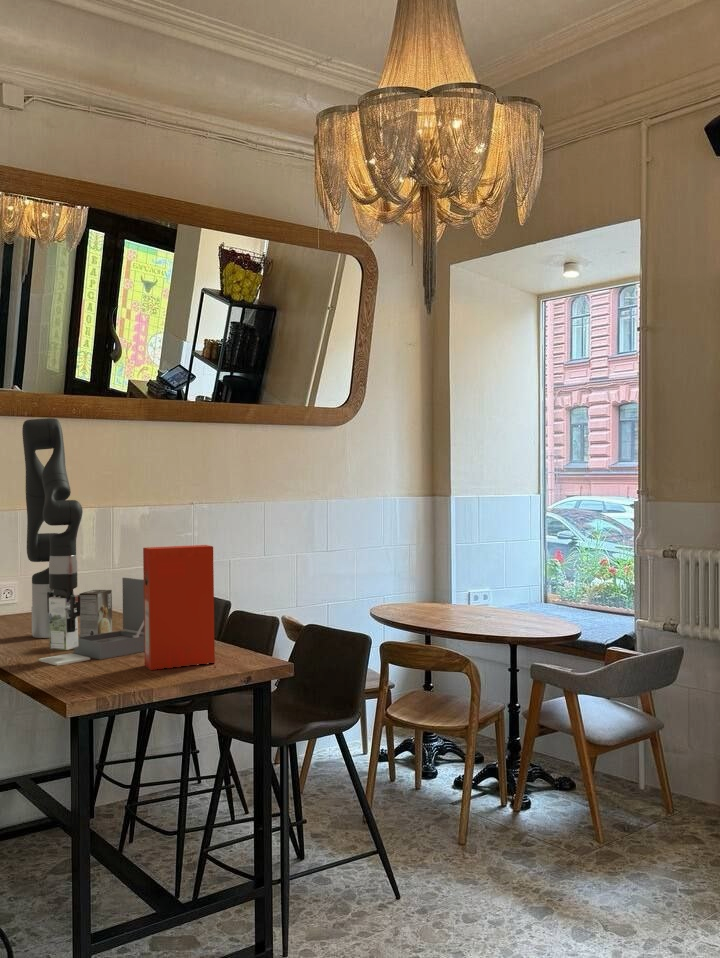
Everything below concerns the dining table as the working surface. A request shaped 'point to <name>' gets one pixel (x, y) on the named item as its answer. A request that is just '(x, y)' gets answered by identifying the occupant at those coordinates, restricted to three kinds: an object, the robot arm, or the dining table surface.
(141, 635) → the case
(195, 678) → the dining table surface
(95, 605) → the coffee box
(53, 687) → the dining table surface
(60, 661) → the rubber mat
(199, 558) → the file binder
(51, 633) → the syrup box
